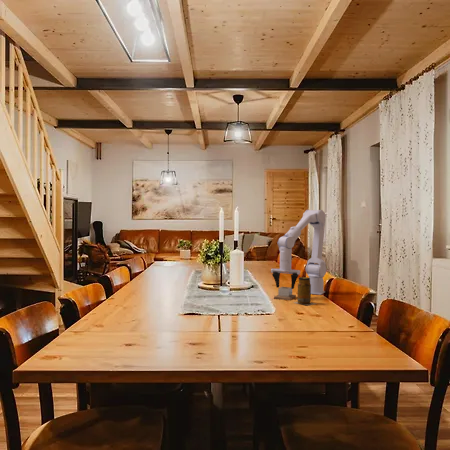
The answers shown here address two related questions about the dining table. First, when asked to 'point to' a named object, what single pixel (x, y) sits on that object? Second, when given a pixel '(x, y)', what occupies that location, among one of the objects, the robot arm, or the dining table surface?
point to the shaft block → (285, 297)
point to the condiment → (304, 291)
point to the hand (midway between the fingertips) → (285, 288)
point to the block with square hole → (285, 291)
